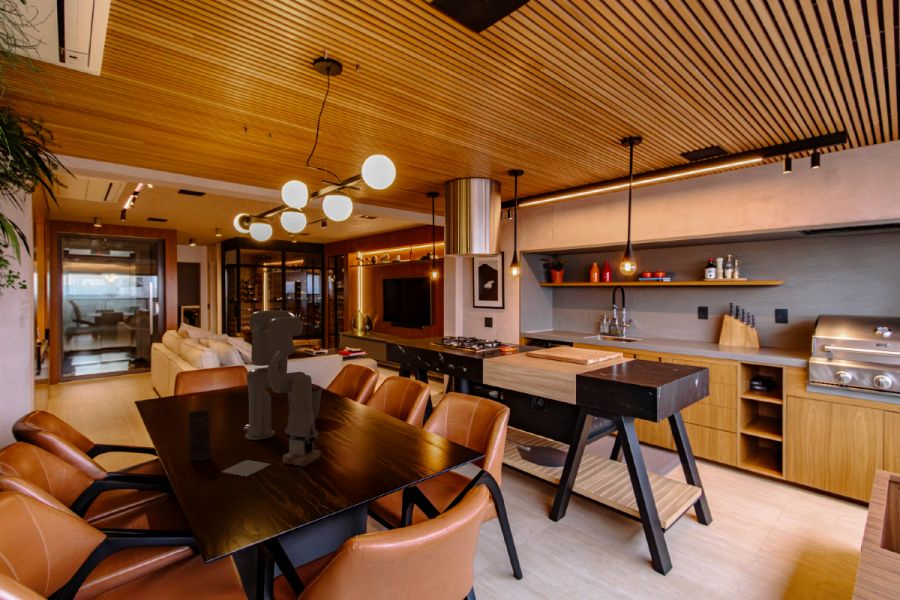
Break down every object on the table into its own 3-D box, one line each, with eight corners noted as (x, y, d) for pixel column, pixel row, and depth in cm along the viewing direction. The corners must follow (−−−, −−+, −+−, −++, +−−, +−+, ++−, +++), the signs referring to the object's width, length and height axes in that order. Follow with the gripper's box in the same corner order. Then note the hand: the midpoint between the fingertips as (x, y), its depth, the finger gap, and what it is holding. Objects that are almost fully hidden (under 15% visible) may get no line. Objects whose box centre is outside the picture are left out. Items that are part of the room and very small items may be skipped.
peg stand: (282, 463, 168) (282, 442, 168) (299, 454, 178) (299, 435, 178) (303, 466, 165) (303, 445, 165) (320, 457, 174) (320, 437, 174)
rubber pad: (221, 472, 159) (221, 471, 159) (246, 460, 171) (246, 459, 171) (246, 477, 155) (246, 476, 155) (270, 465, 167) (270, 463, 167)
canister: (308, 413, 239) (308, 375, 239) (329, 419, 229) (329, 379, 228) (279, 421, 224) (279, 381, 224) (300, 427, 214) (300, 385, 214)
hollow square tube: (289, 454, 169) (289, 439, 169) (300, 449, 176) (300, 434, 176) (303, 456, 167) (303, 441, 167) (313, 451, 173) (313, 436, 173)
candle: (187, 463, 167) (187, 412, 167) (189, 457, 174) (189, 408, 174) (210, 460, 171) (210, 410, 171) (210, 454, 177) (210, 406, 177)
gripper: (277, 406, 171) (277, 451, 171) (313, 410, 165) (313, 457, 165) (290, 402, 178) (290, 445, 178) (325, 406, 172) (325, 451, 172)
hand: (301, 451), depth 171 cm, fingers closed on hollow square tube, 6 cm apart
